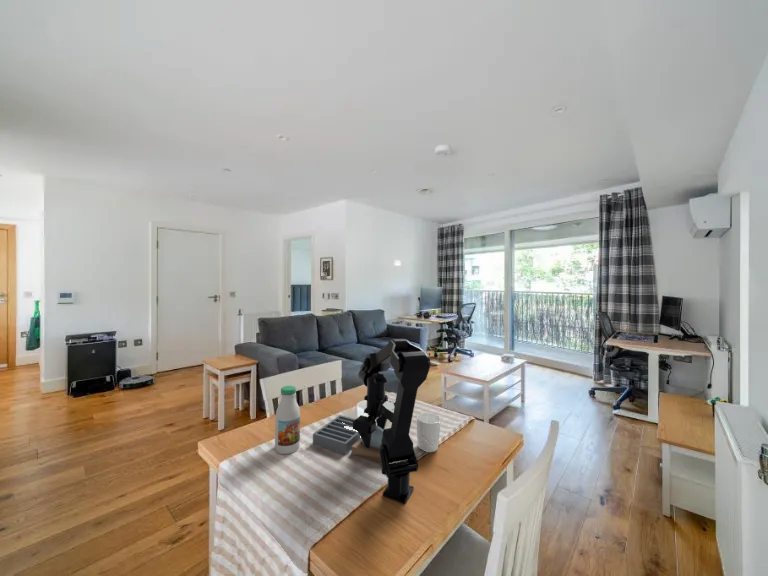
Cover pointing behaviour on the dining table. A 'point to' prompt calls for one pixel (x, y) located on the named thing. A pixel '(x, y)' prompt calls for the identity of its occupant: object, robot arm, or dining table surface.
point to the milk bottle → (287, 422)
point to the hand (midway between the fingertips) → (374, 440)
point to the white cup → (428, 431)
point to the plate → (376, 437)
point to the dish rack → (337, 435)
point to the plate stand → (365, 451)
